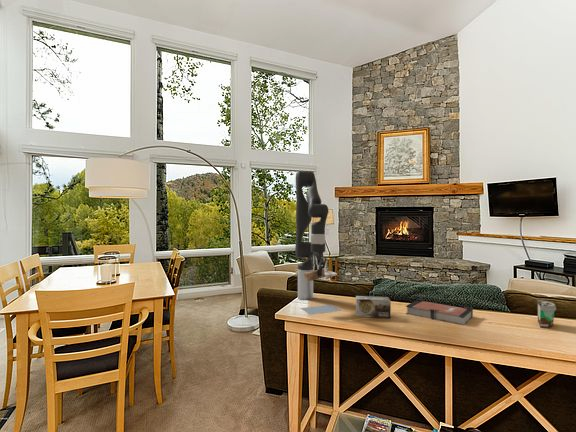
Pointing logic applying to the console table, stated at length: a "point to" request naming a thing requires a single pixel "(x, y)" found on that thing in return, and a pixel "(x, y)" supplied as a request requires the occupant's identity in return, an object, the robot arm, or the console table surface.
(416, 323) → the console table surface
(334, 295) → the console table surface
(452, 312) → the book
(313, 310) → the slate mat
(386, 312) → the coffee box
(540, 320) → the food container
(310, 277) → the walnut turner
